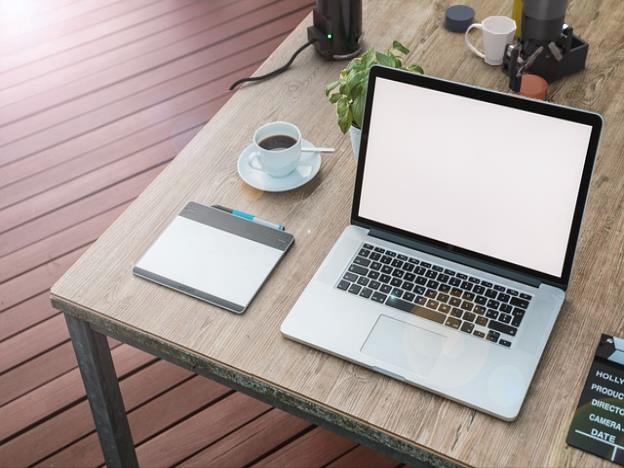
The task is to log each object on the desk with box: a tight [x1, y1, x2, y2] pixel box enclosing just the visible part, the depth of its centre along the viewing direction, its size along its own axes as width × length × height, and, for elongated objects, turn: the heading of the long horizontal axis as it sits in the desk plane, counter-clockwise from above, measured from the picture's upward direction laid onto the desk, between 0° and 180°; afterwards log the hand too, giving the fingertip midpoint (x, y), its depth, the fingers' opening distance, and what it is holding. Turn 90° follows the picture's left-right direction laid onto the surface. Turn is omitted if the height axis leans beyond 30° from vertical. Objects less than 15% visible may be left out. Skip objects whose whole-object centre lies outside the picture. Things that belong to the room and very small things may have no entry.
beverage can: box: [510, 0, 523, 40], centre depth 173 cm, size 9×9×12 cm
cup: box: [464, 15, 517, 66], centre depth 168 cm, size 7×10×8 cm
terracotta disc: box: [511, 74, 548, 101], centre depth 161 cm, size 6×6×3 cm
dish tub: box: [516, 33, 590, 85], centre depth 167 cm, size 10×10×6 cm
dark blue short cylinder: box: [444, 4, 476, 33], centre depth 179 cm, size 6×6×3 cm
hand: (532, 83), depth 160 cm, fingers open, 8 cm apart
